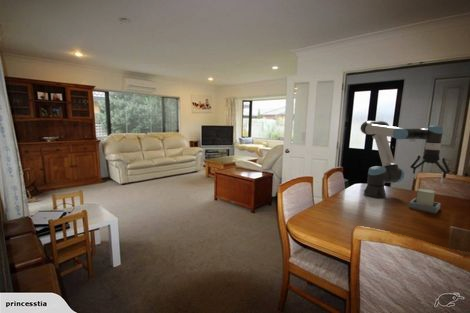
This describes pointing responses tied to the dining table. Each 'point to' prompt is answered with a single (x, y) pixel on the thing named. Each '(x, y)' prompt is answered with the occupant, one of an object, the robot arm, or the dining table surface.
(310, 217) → the dining table surface
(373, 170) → the robot arm
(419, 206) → the tray
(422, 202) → the can
